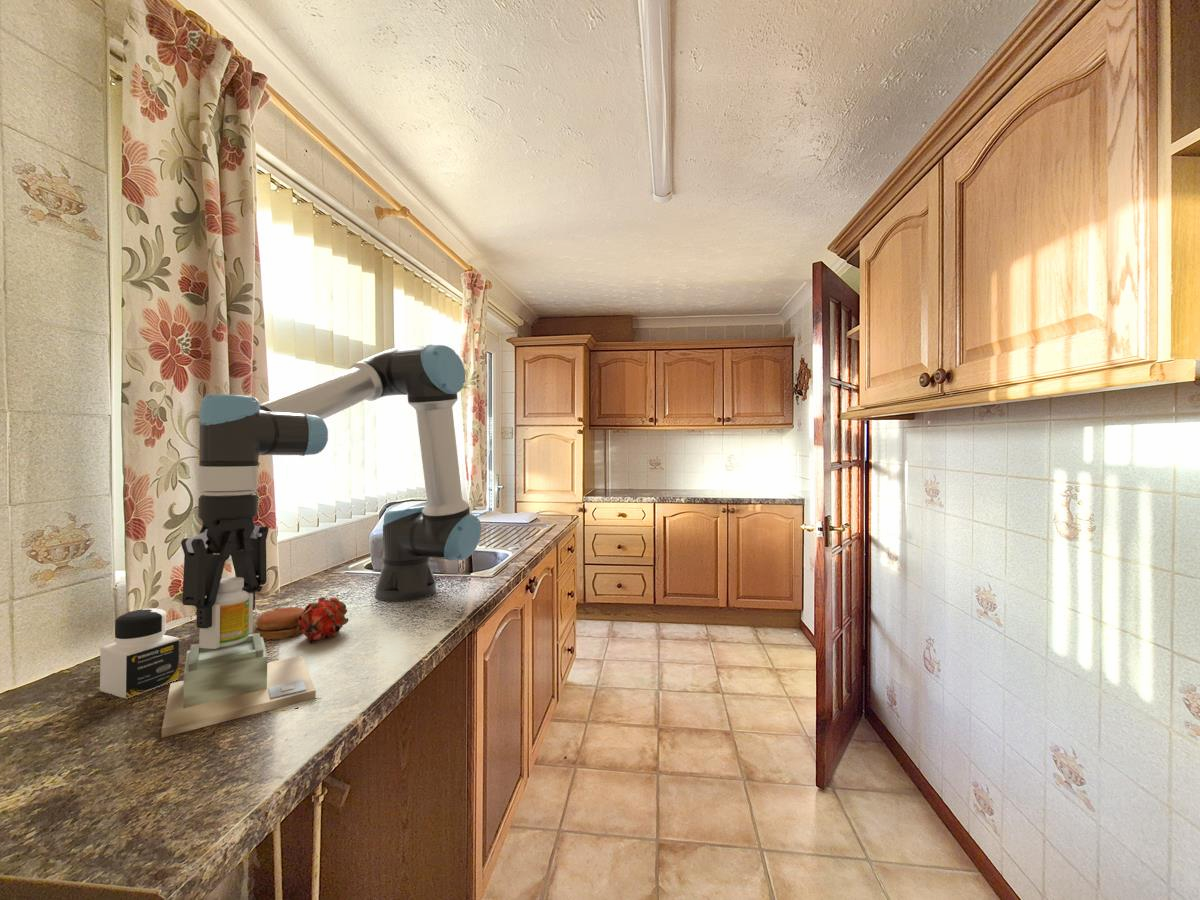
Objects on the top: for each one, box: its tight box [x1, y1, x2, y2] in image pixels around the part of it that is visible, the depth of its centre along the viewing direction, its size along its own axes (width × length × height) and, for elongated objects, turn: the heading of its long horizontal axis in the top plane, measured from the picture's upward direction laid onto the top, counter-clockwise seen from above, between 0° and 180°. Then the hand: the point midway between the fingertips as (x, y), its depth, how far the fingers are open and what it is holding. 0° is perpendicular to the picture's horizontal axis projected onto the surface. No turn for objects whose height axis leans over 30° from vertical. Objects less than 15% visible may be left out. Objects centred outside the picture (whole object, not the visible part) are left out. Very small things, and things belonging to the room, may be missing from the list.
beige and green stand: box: [161, 632, 317, 739], centre depth 78 cm, size 18×16×7 cm
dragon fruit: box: [298, 596, 349, 644], centre depth 101 cm, size 8×8×12 cm
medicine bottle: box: [99, 607, 180, 700], centre depth 80 cm, size 7×7×12 cm
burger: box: [253, 606, 305, 641], centre depth 104 cm, size 10×9×5 cm
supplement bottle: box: [215, 576, 250, 647], centre depth 78 cm, size 5×5×10 cm
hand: (227, 639), depth 78 cm, fingers closed on supplement bottle, 5 cm apart
